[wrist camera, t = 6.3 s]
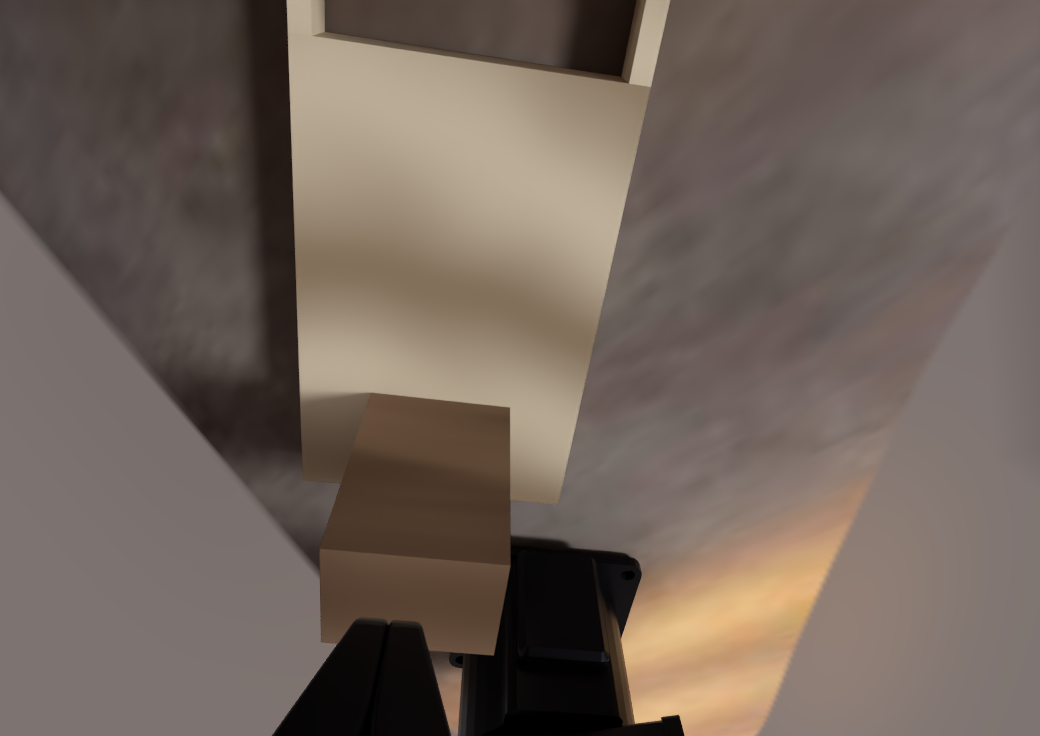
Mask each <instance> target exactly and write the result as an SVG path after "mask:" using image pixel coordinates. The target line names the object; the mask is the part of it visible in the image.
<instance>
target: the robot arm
mask: <svg viewBox="0 0 1040 736" xmlns="http://www.w3.org/2000/svg"><path fill="white" fill-rule="evenodd" d="M510 564H511V566H510V571H509V576H508V582H507V587H506V593H505V598H504V603H503V609H502V614H501V619H500V625H499V630H498V636H497V641H496V646H495V652H494V655H481V654H468V653H455V652H450V656H449V661H450V663H451V664H452V665H453V666H455V667H458V668H462V682H461V696H460V711H459V726H458V736H684V732H683V728H682V724H681V721H680V717H679V715H674V716H666V717H661V720H662V721H654V722H646V723H638V724H635V721H634V715H633V709H632V703H631V697H630V691H629V685H628V679H627V673H626V667H625V661H624V655H623V649H622V643H621V637H622V634H623V631H624V628H625V625H626V622H627V619H628V616H629V613H630V609H631V606H632V603H633V600H634V597H635V594H636V591H637V588H638V585H639V582H640V579H641V574H642V572H641V568H640V564H639V562H638V561H637V560H636V559H634V558H630V557H622V556H610V555H599V554H588V553H577V552H566V551H555V550H544V549H533V548H522V547H511V546H510ZM628 570H630V571H628ZM624 571H628V572H624ZM272 736H451V733H450V729H449V725H448V721H447V718H446V714H445V710H444V706H443V702H442V699H441V695H440V691H439V687H438V683H437V680H436V676H435V672H434V668H433V664H432V661H431V657H430V653H429V649H428V645H427V642H426V638H425V634H424V630H423V627H422V625H421V624H420V623H419V622H416V621H404V620H393V621H391V622H390V624H388V621H387V620H385V619H379V618H366V617H360V618H358V619H356V620H355V621H354V622H353V623H352V624H351V626H350V627H349V629H348V630H347V631H346V633H345V634H344V636H343V637H342V638H341V640H340V641H339V643H338V644H337V645H336V647H335V648H334V650H333V651H332V652H331V654H330V655H329V657H328V658H327V659H326V661H325V662H324V664H323V665H322V666H321V668H320V669H319V671H318V672H317V673H316V675H315V676H314V678H313V679H312V680H311V682H310V683H309V685H308V686H307V688H306V689H305V690H304V692H303V693H302V694H301V696H300V697H299V699H298V700H297V701H296V703H295V704H294V706H293V707H292V708H291V710H290V711H289V713H288V714H287V715H286V717H285V718H284V720H283V721H282V722H281V724H280V725H279V727H278V728H277V729H276V731H275V732H274V734H273V735H272Z"/></svg>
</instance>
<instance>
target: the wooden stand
mask: <svg viewBox="0 0 1040 736" xmlns="http://www.w3.org/2000/svg"><path fill="white" fill-rule="evenodd" d="M669 3H670V0H637V1H636V6H635V11H634V16H633V21H632V26H631V31H630V36H629V41H628V46H627V51H626V56H625V61H624V66H623V71H622V76H621V77H620V76H614V75H607V74H601V73H594V72H587V71H581V70H574V69H568V68H561V67H554V66H548V65H541V64H535V63H528V62H521V61H515V60H508V59H501V58H495V57H488V56H482V55H475V54H468V53H462V52H455V51H449V50H442V49H435V48H429V47H422V46H416V45H409V44H402V43H396V42H389V41H383V40H376V39H369V38H363V37H356V36H349V35H343V34H336V33H330V32H325V0H287V23H288V52H289V82H290V112H291V142H292V172H293V202H294V231H295V261H296V291H297V321H298V351H299V380H300V410H301V440H302V470H303V480H308V481H319V482H329V483H339V484H341V485H340V488H339V491H338V494H337V497H336V500H335V503H334V506H333V509H332V512H331V515H330V518H329V521H328V524H327V527H326V530H325V533H324V536H323V539H322V542H321V546H320V549H319V553H320V604H321V605H320V606H321V642H325V643H339V641H340V640H341V638H342V637H343V636H344V634H345V633H346V631H347V630H348V629H349V627H350V626H351V624H352V623H353V622H354V621H355V620H356V619H358V618H360V617H366V618H379V619H385V620H387V621H388V624H390V622H391V621H393V620H404V621H416V622H419V623H420V624H421V625H422V627H423V630H424V634H425V638H426V642H427V645H428V649H429V651H442V652H455V653H468V654H481V655H494V652H495V646H496V641H497V636H498V630H499V625H500V619H501V614H502V609H503V603H504V598H505V593H506V587H507V582H508V576H509V571H510V566H511V564H510V500H516V501H526V502H537V503H547V504H557V505H558V502H559V497H560V493H561V488H562V484H563V480H564V475H565V471H566V466H567V462H568V457H569V453H570V448H571V444H572V439H573V435H574V430H575V426H576V421H577V417H578V412H579V408H580V403H581V399H582V394H583V390H584V385H585V381H586V376H587V372H588V367H589V363H590V358H591V354H592V349H593V345H594V340H595V336H596V331H597V327H598V322H599V318H600V313H601V309H602V304H603V300H604V295H605V291H606V286H607V282H608V277H609V273H610V268H611V264H612V259H613V255H614V250H615V246H616V241H617V237H618V232H619V228H620V223H621V219H622V214H623V210H624V205H625V201H626V196H627V192H628V187H629V183H630V178H631V174H632V169H633V165H634V160H635V156H636V151H637V147H638V142H639V138H640V133H641V129H642V124H643V120H644V115H645V111H646V106H647V102H648V97H649V93H650V88H651V84H652V79H653V75H654V70H655V66H656V61H657V57H658V52H659V48H660V43H661V39H662V34H663V30H664V25H665V21H666V16H667V12H668V7H669Z"/></svg>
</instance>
